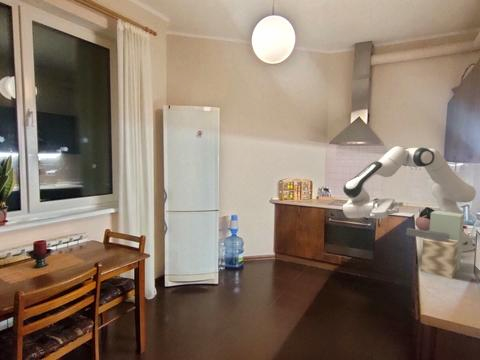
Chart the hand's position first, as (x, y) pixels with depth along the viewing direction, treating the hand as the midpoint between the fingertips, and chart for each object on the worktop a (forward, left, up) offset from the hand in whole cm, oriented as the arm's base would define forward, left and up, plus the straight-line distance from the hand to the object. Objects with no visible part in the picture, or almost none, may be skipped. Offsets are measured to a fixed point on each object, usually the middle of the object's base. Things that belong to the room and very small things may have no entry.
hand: (400, 207), depth 153 cm
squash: (-91, -68, -28) cm, 117 cm away
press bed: (-8, +17, -28) cm, 33 cm away
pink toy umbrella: (-69, -51, -28) cm, 90 cm away
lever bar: (-4, +12, -13) cm, 18 cm away
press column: (-18, +10, -28) cm, 35 cm away
